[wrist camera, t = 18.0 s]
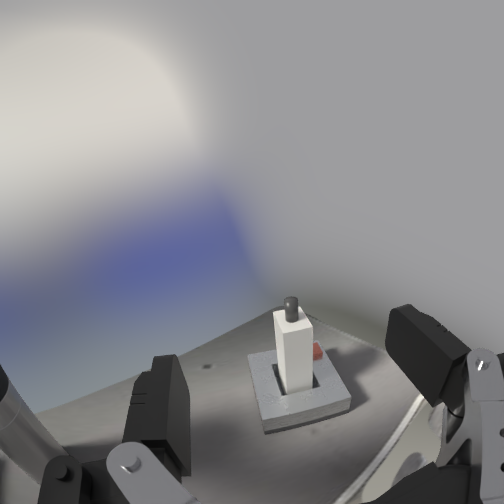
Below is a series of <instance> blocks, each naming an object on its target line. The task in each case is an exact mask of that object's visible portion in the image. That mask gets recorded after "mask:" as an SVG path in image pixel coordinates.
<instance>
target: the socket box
mask: <svg viewBox="0 0 504 504" xmlns="http://www.w3.org/2000/svg"><path fill="white" fill-rule="evenodd" d="M247 356H248V362H249V367H250V373H251V377H252V381H253V386H254V390H255V394H256V399H257V403H258V407H259V411H260V416H261V420H262V424H263V428H264V432H265V435H266V434H271V433H275V432H280V431H285V430H289V429H293V428H297V427H301V426H305V425H309V424H313V423H316V422H320V421H323V420H327V419H330V418H333V417H336V416H340V415H343V414H346V413H349V408H350V403H351V395H350V393H349V391H348V390H347V388H346V386H345V385H344V383H343V381H342V380H341V378H340V376H339V374H338V373H337V371H336V369H335V368H334V366H333V364H332V363H331V361H330V359H329V357H328V356H327V354H326V352H325V351H324V349H323V347H322V346H321V344H320V342H319V341H318V340H316V341H313V381H312V389H310V390H306V391H302V392H298V393H294V394H289V395H285V394H284V391H283V388H282V386H281V383H280V380H279V369H278V358H277V349H276V350H271V351H266V352H260V353H255V354H250V355H247Z"/></svg>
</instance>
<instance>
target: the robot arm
mask: <svg viewBox="0 0 504 504" xmlns="http://www.w3.org/2000/svg"><path fill="white" fill-rule="evenodd" d="M385 346H386V350H387V352H388V354H389V356H390V357H391V358H392V359H393V360H394V362H395V363H396V364H397V365H398V366H399V367H400V369H401V370H402V371H403V372H404V373H405V375H406V376H407V377H408V378H409V379H410V381H411V382H412V383H413V384H414V385H415V387H416V388H417V389H418V390H419V391H420V393H421V394H422V395H423V396H424V398H425V399H426V400H427V401H428V402H429V404H430V405H431V406H432V407H435V406H437V405H438V404H440V403H442V402H444V403H445V407H444V409H443V425H442V439H441V449H440V453H439V455H438V458H437V460H436V462H435V463H434V462H431V463H430V464H428V465H426V466H424V467H423V468H421V469H419V470H417V471H416V472H414V473H412V474H410V475H408V476H406V477H404V478H403V479H402V480H401V481H399V482H398V483H397V484H396V485H394V486H393V487H392V488H391V489H389V490H388V491H387V492H385V493H384V494H383V495H381V496H380V497H379V498H377V499H376V500H374V501H371V502H367V503H361V504H504V353H502V354H498V355H496V354H494V353H493V352H492V351H490V350H487V349H482V348H478V349H474V350H471V349H470V348H469V347H467V346H466V345H465V344H464V343H463V342H462V341H460V340H459V339H458V338H457V337H456V336H455V335H453V334H452V333H451V332H450V331H447V329H446V328H445V327H444V326H443V325H442V326H441V324H440V323H439V322H438V321H437V320H435V319H434V318H433V317H431V316H429V315H426V314H424V313H422V312H419V311H418V310H417V309H416V308H414V307H413V306H412V305H410V304H406V305H403V306H400V307H397V308H394V309H392V310H391V311H390V314H389V321H388V327H387V334H386V339H385ZM0 449H1V450H2V451H3V452H4V453H5V454H6V455H7V456H8V457H9V458H10V459H11V460H12V461H13V462H14V463H15V464H17V465H18V466H19V467H20V468H21V469H22V470H23V471H24V472H25V473H26V474H28V475H29V476H30V477H31V478H32V479H33V480H35V481H36V482H37V483H38V484H40V485H41V488H40V493H39V498H38V504H202V503H201V502H200V501H198V500H197V499H196V498H194V497H193V496H192V495H191V494H190V493H189V492H188V491H187V490H186V489H185V488H184V487H183V486H182V485H181V476H191V452H190V395H189V389H188V386H187V383H186V380H185V377H184V375H183V372H182V369H181V366H180V364H179V361H178V358H177V356H176V355H175V354H173V355H164V356H155V357H154V358H153V363H152V368H151V371H148V372H142V373H141V375H140V376H139V377H138V379H137V380H136V381H135V383H134V387H133V391H132V396H131V400H130V406H129V410H128V415H127V420H126V425H125V430H124V435H123V440H122V444H120V445H118V446H116V447H115V448H114V449H112V451H111V452H110V453H109V455H108V457H107V458H106V459H103V460H99V461H94V462H89V463H84V464H80V463H79V462H78V461H77V460H76V459H75V458H73V457H71V456H69V454H68V453H67V452H66V451H65V450H64V449H63V448H62V446H61V445H60V444H59V443H58V442H57V441H56V440H55V439H54V437H53V436H52V435H51V434H50V433H49V432H48V431H47V429H46V428H45V427H44V426H43V425H42V423H41V422H40V421H39V420H38V418H37V417H36V416H35V415H34V413H33V412H32V411H31V410H30V408H29V407H28V406H27V404H26V403H25V402H24V400H23V399H22V397H21V396H20V394H19V393H18V392H17V390H16V389H15V387H14V386H13V384H12V383H11V381H10V380H9V378H8V377H7V375H6V373H5V372H4V370H3V369H2V367H1V365H0Z"/></svg>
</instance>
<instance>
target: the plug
mask: <svg viewBox="0 0 504 504" xmlns="http://www.w3.org/2000/svg"><path fill="white" fill-rule="evenodd" d="M284 307H285V310H281V311H276V312H273V315H274V326H275V336H276V347H277V358H278V369H279V380H280V383H281V386H282V388H283V391H284V394H285V395H289V394H294V393H298V392H302V391H306V390H310V389H312V381H313V326H312V325H311V323H310V321H309V320H308V318H307V317H306V315H305V313H304V312H303V310H302V309H301V307H298V299H297V298H296V297H287V298H286V299H284Z"/></svg>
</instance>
